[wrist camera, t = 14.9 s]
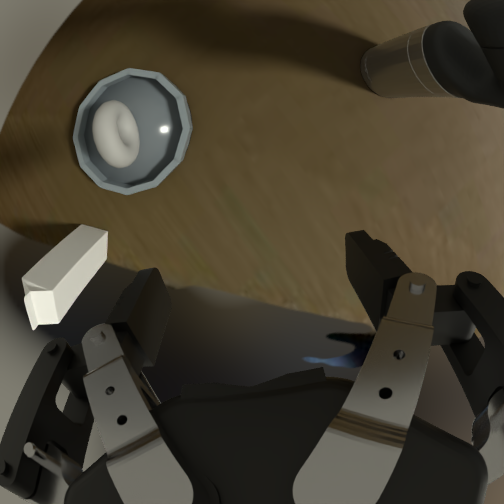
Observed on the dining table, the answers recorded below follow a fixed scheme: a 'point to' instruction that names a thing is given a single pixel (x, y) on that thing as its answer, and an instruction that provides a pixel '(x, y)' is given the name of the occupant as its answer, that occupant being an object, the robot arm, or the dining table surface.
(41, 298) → the milk
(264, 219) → the dining table surface
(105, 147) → the donut
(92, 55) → the dining table surface
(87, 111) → the bowl
